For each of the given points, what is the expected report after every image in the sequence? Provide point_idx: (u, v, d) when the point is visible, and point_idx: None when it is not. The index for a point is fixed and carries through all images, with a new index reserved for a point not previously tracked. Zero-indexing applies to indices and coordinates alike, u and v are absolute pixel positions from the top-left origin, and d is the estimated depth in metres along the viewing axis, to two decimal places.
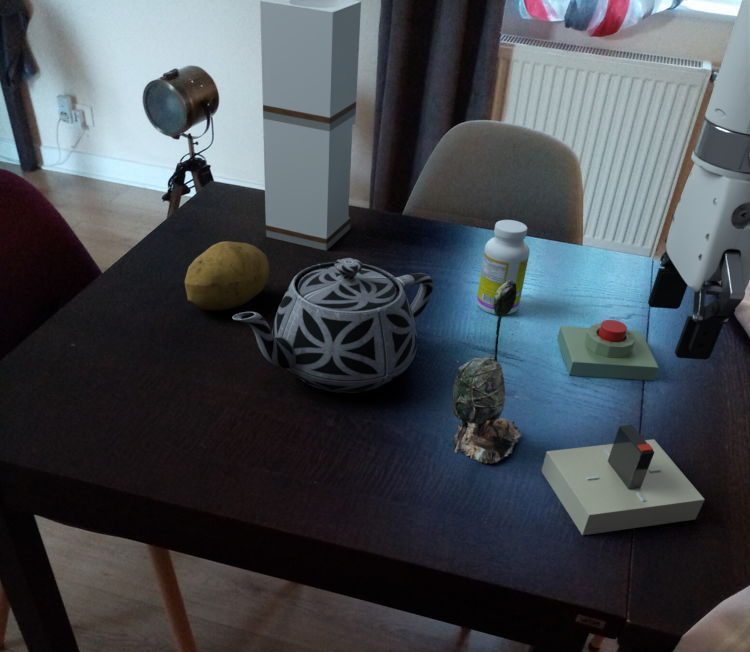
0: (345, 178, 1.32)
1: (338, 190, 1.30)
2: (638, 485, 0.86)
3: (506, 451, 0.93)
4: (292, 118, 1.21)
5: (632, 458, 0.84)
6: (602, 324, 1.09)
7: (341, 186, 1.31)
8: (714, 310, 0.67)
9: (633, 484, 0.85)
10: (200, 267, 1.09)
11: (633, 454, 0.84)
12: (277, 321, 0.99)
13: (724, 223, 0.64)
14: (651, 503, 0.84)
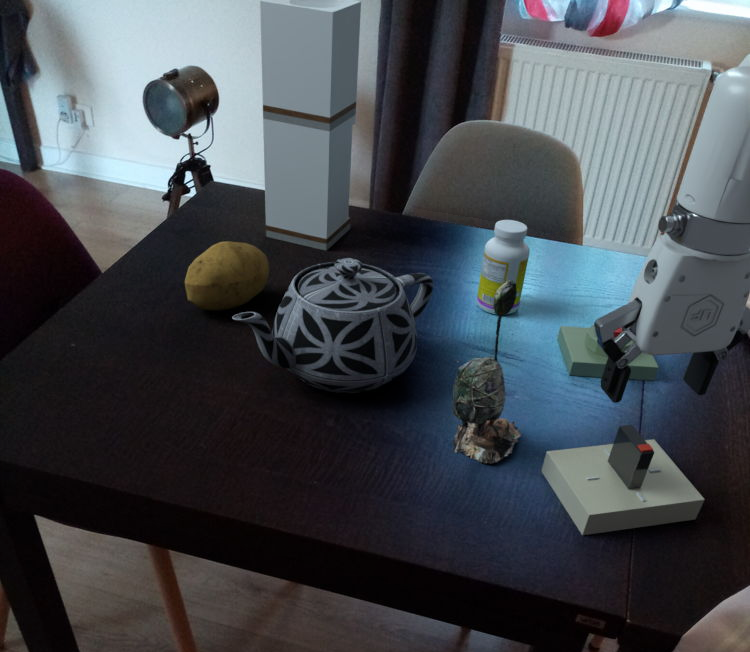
0: (345, 178, 1.32)
1: (338, 190, 1.30)
2: (638, 485, 0.86)
3: (506, 451, 0.93)
4: (292, 118, 1.21)
5: (632, 458, 0.84)
6: None
7: (341, 186, 1.31)
8: (599, 339, 0.75)
9: (633, 484, 0.85)
10: (200, 267, 1.09)
11: (633, 454, 0.84)
12: (277, 321, 0.99)
13: (641, 272, 0.72)
14: (651, 503, 0.84)
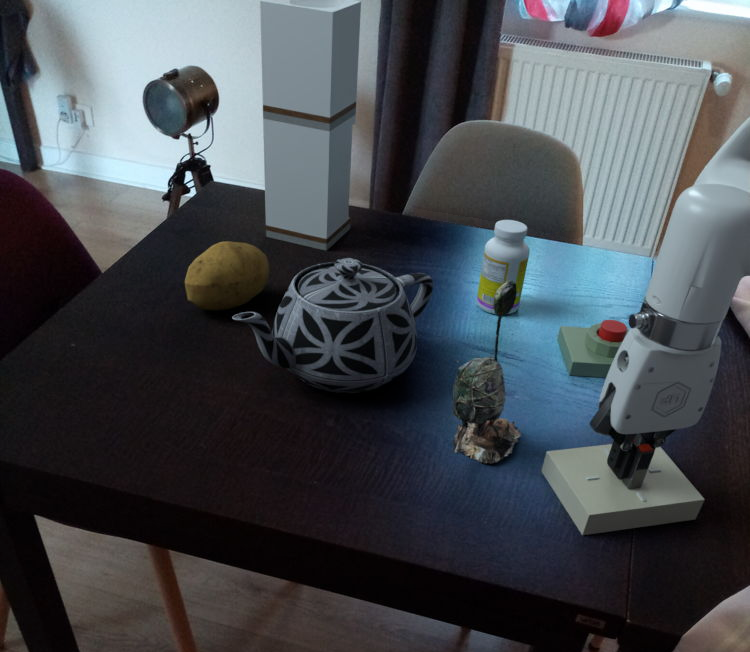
0: (345, 178, 1.32)
1: (338, 190, 1.30)
2: (638, 485, 0.86)
3: (506, 451, 0.93)
4: (292, 118, 1.21)
5: None
6: (602, 324, 1.09)
7: (341, 186, 1.31)
8: None
9: (633, 484, 0.85)
10: (200, 267, 1.09)
11: None
12: (277, 321, 0.99)
13: (615, 360, 0.78)
14: (651, 503, 0.84)
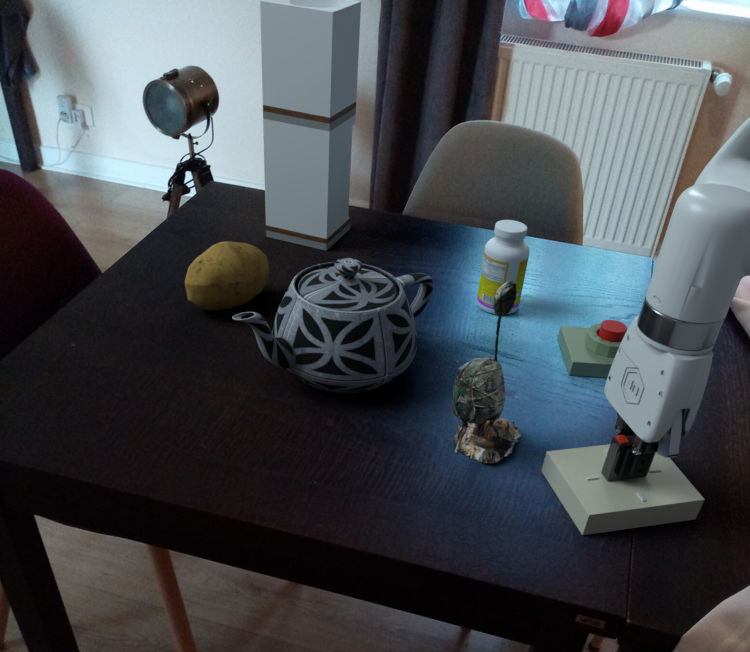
0: (345, 178, 1.32)
1: (338, 190, 1.30)
2: (606, 476, 0.86)
3: (506, 451, 0.93)
4: (292, 118, 1.21)
5: None
6: (602, 324, 1.09)
7: (341, 186, 1.31)
8: None
9: (603, 470, 0.87)
10: (200, 267, 1.09)
11: None
12: (277, 321, 0.99)
13: None
14: (651, 503, 0.84)
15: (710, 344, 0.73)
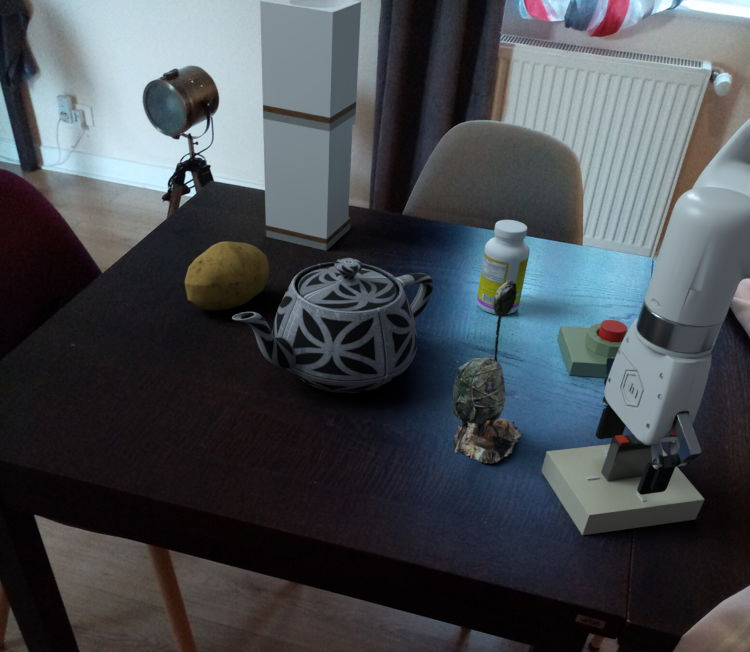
0: (345, 178, 1.32)
1: (338, 190, 1.30)
2: (606, 476, 0.86)
3: (506, 451, 0.93)
4: (292, 118, 1.21)
5: None
6: (602, 324, 1.09)
7: (341, 186, 1.31)
8: None
9: (603, 470, 0.87)
10: (200, 267, 1.09)
11: None
12: (277, 321, 0.99)
13: None
14: (651, 503, 0.84)
15: (709, 347, 0.73)
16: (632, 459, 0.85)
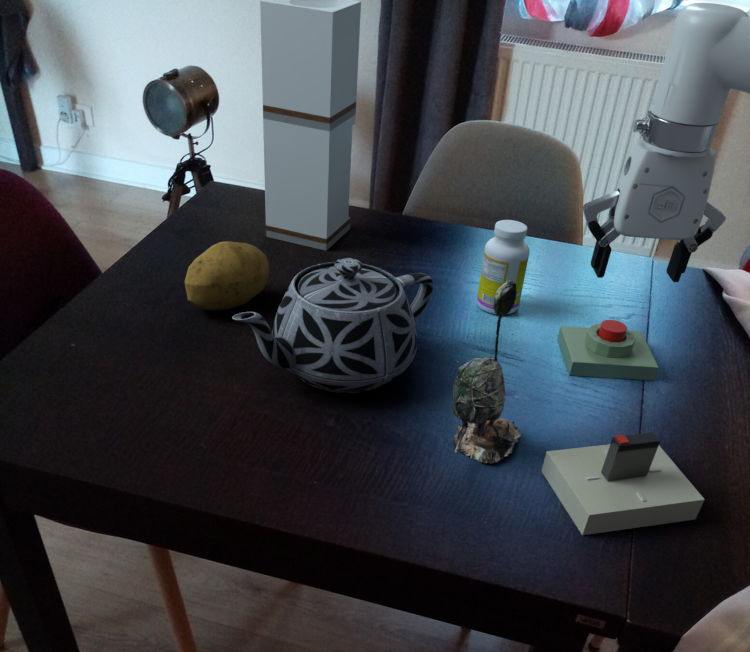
0: (345, 178, 1.32)
1: (338, 190, 1.30)
2: (606, 476, 0.86)
3: (506, 451, 0.93)
4: (292, 118, 1.21)
5: None
6: (602, 324, 1.09)
7: (341, 186, 1.31)
8: None
9: (603, 470, 0.87)
10: (200, 267, 1.09)
11: None
12: (277, 321, 0.99)
13: (623, 168, 0.92)
14: (651, 503, 0.84)
15: None
16: (632, 459, 0.85)
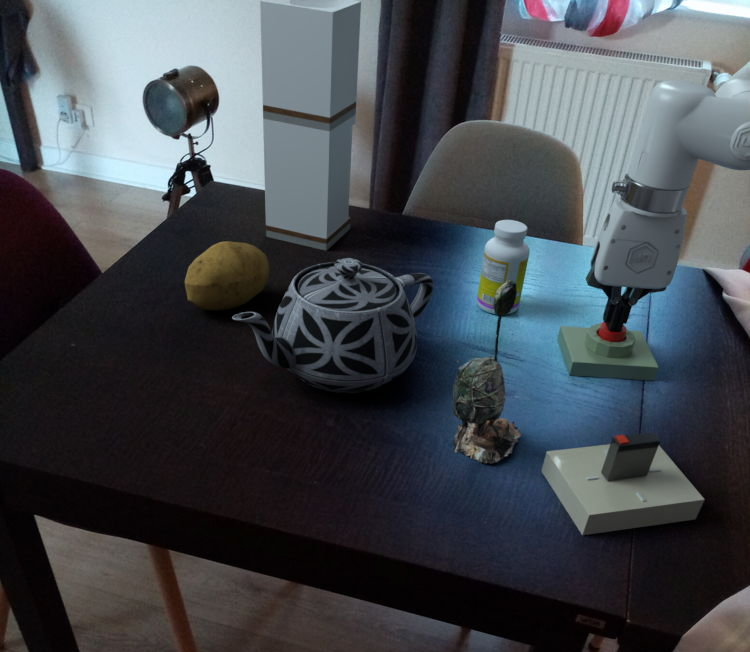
0: (345, 178, 1.32)
1: (338, 190, 1.30)
2: (606, 476, 0.86)
3: (506, 451, 0.93)
4: (292, 118, 1.21)
5: None
6: (602, 325, 1.09)
7: (341, 186, 1.31)
8: None
9: (603, 470, 0.87)
10: (200, 267, 1.09)
11: None
12: (277, 321, 0.99)
13: None
14: (651, 503, 0.84)
15: None
16: (632, 459, 0.85)
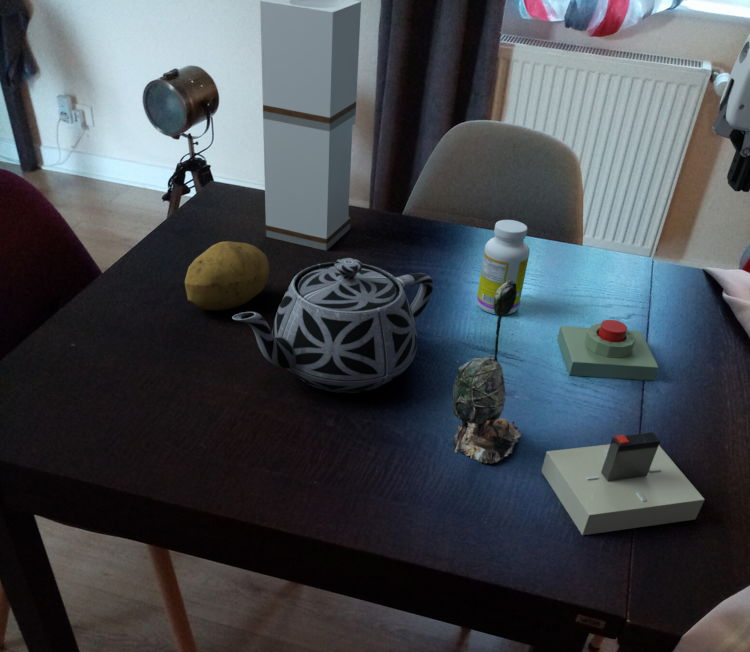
0: (345, 178, 1.32)
1: (338, 190, 1.30)
2: (606, 476, 0.86)
3: (506, 451, 0.93)
4: (292, 118, 1.21)
5: None
6: (602, 324, 1.09)
7: (341, 186, 1.31)
8: None
9: (603, 470, 0.87)
10: (200, 267, 1.09)
11: None
12: (277, 321, 0.99)
13: (738, 56, 0.88)
14: (651, 503, 0.84)
15: None
16: (632, 459, 0.85)
